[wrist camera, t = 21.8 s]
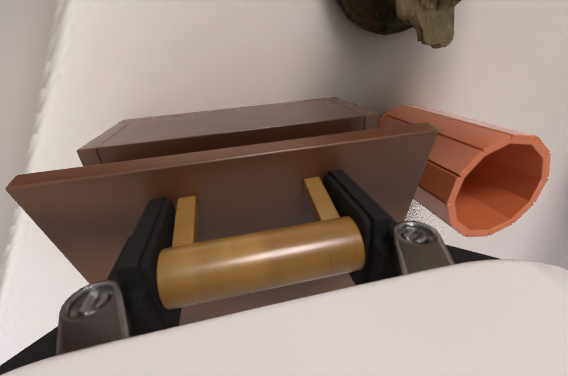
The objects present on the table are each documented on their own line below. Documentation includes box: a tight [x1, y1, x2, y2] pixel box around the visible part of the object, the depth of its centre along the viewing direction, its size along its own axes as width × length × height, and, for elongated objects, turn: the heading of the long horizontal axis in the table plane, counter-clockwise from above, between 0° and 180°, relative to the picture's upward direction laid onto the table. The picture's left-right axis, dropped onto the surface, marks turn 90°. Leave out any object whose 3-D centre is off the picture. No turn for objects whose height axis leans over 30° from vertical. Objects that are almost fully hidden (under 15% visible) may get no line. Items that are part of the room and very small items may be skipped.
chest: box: [77, 97, 380, 167], centre depth 21 cm, size 16×16×7 cm
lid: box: [6, 122, 438, 326], centre depth 14 cm, size 17×16×5 cm
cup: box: [379, 105, 550, 237], centre depth 20 cm, size 6×6×10 cm
